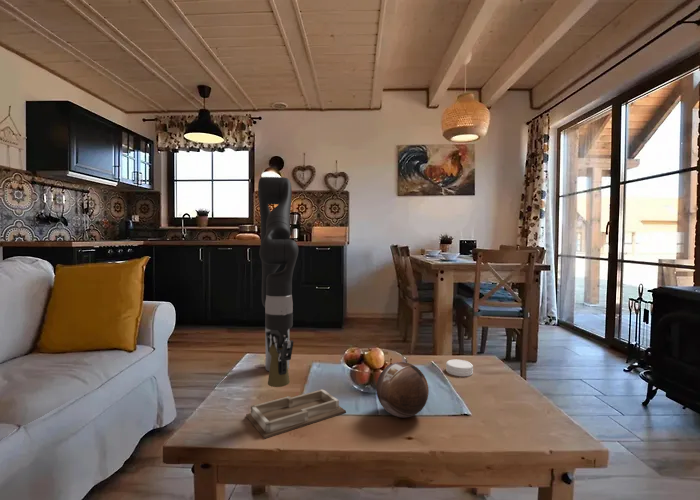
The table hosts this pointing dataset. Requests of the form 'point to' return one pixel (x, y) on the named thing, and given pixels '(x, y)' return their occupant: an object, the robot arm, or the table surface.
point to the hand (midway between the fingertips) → (279, 371)
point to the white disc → (459, 367)
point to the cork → (276, 370)
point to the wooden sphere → (402, 389)
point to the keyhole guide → (293, 412)
